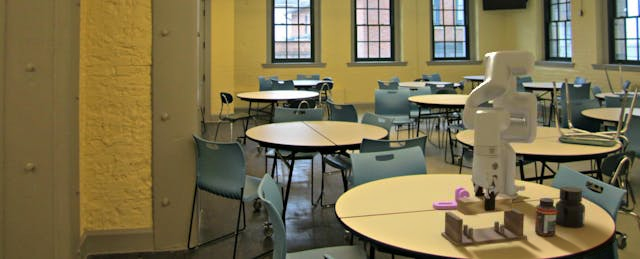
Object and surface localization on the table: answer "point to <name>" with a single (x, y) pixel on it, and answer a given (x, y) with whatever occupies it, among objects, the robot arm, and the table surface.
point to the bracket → (459, 193)
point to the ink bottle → (570, 207)
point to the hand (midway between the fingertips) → (484, 207)
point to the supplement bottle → (545, 217)
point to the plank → (483, 204)
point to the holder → (484, 230)
